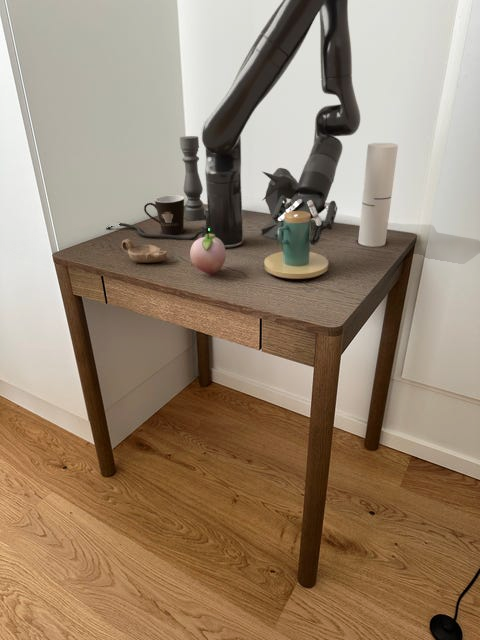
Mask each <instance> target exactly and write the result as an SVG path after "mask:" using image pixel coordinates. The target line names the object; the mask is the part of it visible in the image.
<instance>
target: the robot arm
mask: <svg viewBox="0 0 480 640" xmlns="http://www.w3.org/2000/svg"><path fill="white" fill-rule="evenodd" d="M348 6H349V0H282V1H281V2H280V4H279V5H278V6H277V8H276V9H275V10H274V12H273V14H272V15H271V16H270V18H269V20H268V21H266V24H265V25H264V27H263V28H262V30H261V31H260V33H259V34H258V36H257V38H256V39H255V40H254V42H253V44H252V46H251V48H250V49H249V50H248V53H247V54H246V56H245V58H244V60H243V62H242V63H241V65H240V68H239V69H238V71H237V74H236V76H235V78H234V80H233V83H232V84H231V86H230V88H229V90H228V91H227V93H226V94H225V96H224V97H223V98H222V100H221V101H220V102H219V104H218V105H217V106H216V107H215V109H214V110H213V112H212V113H211V114H210V115H209V116H208V117H207V118H206V119H205V121H203V122H204V123H203V125H202V127H201V133H200V136H201V142H202V144H203V146H204V148H205V171H204V175H205V187H206V189H205V190H206V202H207V207H206V208H205V209H204V213H205V225H202V226H201V229H200V230H197V232H196V233H195V234H194V235H192V236H180V235H165V234H153V233H146V232H142V230H141V228H140V227H139V226H137V225H133V224H130V223H125V222H119V223H120V224H119V225H120V226H119V227H126V228H129V229H134V230H137V232H138V235H139V236H141V237H145V238H153V239H173V240H179V241H180V240H181V241H191V240H195V239H197V238H198V237H199V236H200V235H201V238H202V237H205V235H206V234H207V233H209V234H214V235H215V237H216V238H218V239H220V240H221V241H222V243H223V244H224V246H225V249H232V248H237V247H239V246H242V245H243V244H244V229H243V198H242V194H243V193H242V141H241V139H242V138H241V137H242V133H243V131H244V129H245V127H246V125H247V123H248V122H249V120H250V118H251V116H252V115H253V113H254V112H255V110H256V109H257V108H258V107H259V105H260V104H261V103H262V101H264V99H265V98H266V97H267V95H268V94H269V93H270V92H271V91H272V90H273V89H274V87H275V86H276V85H277V83H278V82H279V81H280V79H281V78H282V77H283V75H284V74H285V72H286V71H287V70H288V67H289V66H290V65H291V64H292V62H293V60H294V59H295V57H296V56H297V54H298V52H299V50H300V49H301V47H302V45H303V44H304V41H305V39H306V38H307V35H308V33H309V31H310V29H311V27H312V25H313V23H314V22H315V19H316V18H317V16H318V14H319V27H320V29H319V32H320V39H319V41H320V46H319V47H320V48H319V51H320V52H319V54H320V55H319V56H320V61H319V62H320V82H321V83H320V84H321V91H322V92H323V93H324V94H325V95H333V96H335V97H337V98H338V101H339V104H331V105H325V106H323V107H321V108H320V109H319V111H318V112H317V113H316V116H315V120H314V135H313V145H312V147H311V150H310V153H309V155H308V158H307V160H306V161H305V164H304V166H303V168H302V171H301V175H300V177H299V179H298V181H297V182H298V185H297V188H296V191H295V195H294V197H293V198H292V199H288V198H285V196H281V197H280V199H279V201H278V203H277V206H276V208H275V210H274V213H273V215H272V217H273V218H274V220H275V221H276V223H278V224H277V226H276V229H275V232H274V234H275V236H276V238H277V239H276V240H278V228H280V227H283V219H284V214H285V213H287V212H290V211H305V212H308V213H310V214H311V220H313V221H314V223H315V225H314V226H313V228H312V231H311V235H310V246H316V244H318V243H319V241H320V238H321V236H322V232H323V231H325V230H329V231H330V230H332V229H333V226H334V223H335V219H336V216H337V212H338V205H337V202H336V201H335V200H331V201H330V202H327V200H328V197H329V194H330V191H331V189H332V185H333V183H334V181H335V178H336V177H335V176H336V172H337V167H338V164H339V161H340V159H341V156H342V153H343V149H344V147H343V143H342V142H341V140H340V139H339V138H338V137H346V136H347V137H348V136H352V135H354V134H355V133H357V131H358V130H359V128H360V125H361V112H360V111H361V110H360V108H359V104H358V101H357V97H356V93H355V89H354V84H353V62H352V61H353V59H352V58H353V57H352V56H353V55H352V44H351V43H352V41H351V35H350V27H349V26H350V25H349V12H348V11H349V10H348V9H349V7H348ZM289 205H291V206H290V207H289V208H288V206H289ZM286 208H288V209H287V210H286V211H285V209H286ZM324 210H326V215H325V218H324V219H325V220H323V221H322V220H321V217H320V214H321V213H322V212H323V211H324ZM284 211H285V213H284ZM283 213H284V214H283ZM272 217H271V218H272ZM107 227H108V226H107ZM107 227H106V228H105V230H110V229H111V228H113V227H114V226H111V227H108V228H107ZM282 236H283V231H282Z"/></svg>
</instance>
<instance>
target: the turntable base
mask: <svg viewBox="0 0 480 640" xmlns="http://www.w3.org/2000/svg"><path fill="white" fill-rule="evenodd" d="M319 276H320V275H318V276H315V277H311V278H302V279H292V278H283V277H279V276H275V275H273V277H276V278H278V279H282V280H285V281H295V282H296V281H299V282H300V281H308V280H312V279H315V278H317V277H319Z"/></svg>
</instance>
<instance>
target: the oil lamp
mask: <svg viewBox="0 0 480 640" xmlns="http://www.w3.org/2000/svg"><path fill="white" fill-rule="evenodd" d="M120 246H121V249H122V250H123V252H125V253H127V254H128V256H129V257H130V259H131V260H132V261H134V262H136V263H141V264H142V263H143V264H144V263H145V264H146V263H160V262H162V261H164V260H165V259H166V257H167V254H168V253H167V252H168V251H167V250H162V248H160V247H158V246H156V245H153V244H137V245H134V243H133V242H132V240H131V239H129V238H126V239H124V240H122V241H121V245H120ZM127 246H128V247H127Z"/></svg>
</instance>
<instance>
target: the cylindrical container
mask: <svg viewBox="0 0 480 640" xmlns="http://www.w3.org/2000/svg"><path fill="white" fill-rule="evenodd" d="M366 149H367V150H366V158H365V159H366V161H365V170H364V171H365V172H364V180H363V190H362V198H361V199H362V200H361V209H360V218H359V219H360V220H359V229H358V230H359V231H358V241H357V242H358V244H359V245H361V246H364V247H371V248H379V247H383V246H385V245H386V241H387V233H388V227H389V226H388V225H389V218H390V211H391V204H392V203H391V202H392V195H393V186H394V179H395V172H396V166H397V165H396V163H397V157H398V156H397V155H398V149H399V144H397V143H392V142H373V143H368V144H367V148H366Z"/></svg>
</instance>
